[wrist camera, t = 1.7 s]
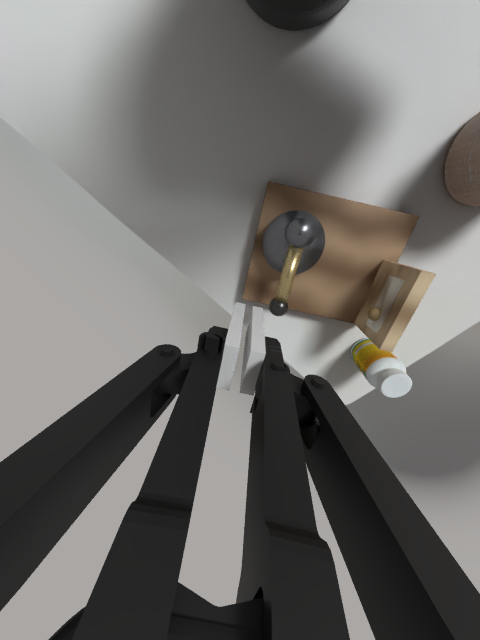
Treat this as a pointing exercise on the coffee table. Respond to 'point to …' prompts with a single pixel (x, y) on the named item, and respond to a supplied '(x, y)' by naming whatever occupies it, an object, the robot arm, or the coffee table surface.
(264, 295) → the stand
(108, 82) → the coffee table surface
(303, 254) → the ball knob lever
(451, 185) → the planter
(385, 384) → the supplement bottle
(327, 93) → the coffee table surface
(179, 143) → the coffee table surface
